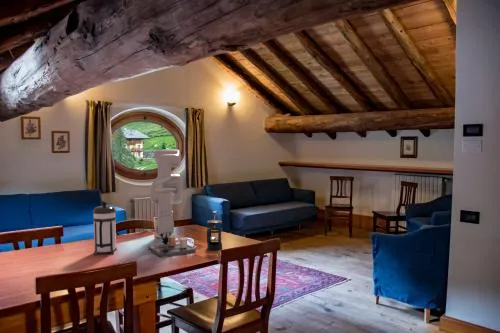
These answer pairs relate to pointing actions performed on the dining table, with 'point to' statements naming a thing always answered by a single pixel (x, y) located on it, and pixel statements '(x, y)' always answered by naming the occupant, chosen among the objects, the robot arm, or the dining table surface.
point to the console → (170, 250)
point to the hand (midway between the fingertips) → (165, 244)
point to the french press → (214, 245)
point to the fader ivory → (183, 242)
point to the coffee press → (104, 229)
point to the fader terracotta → (171, 241)
